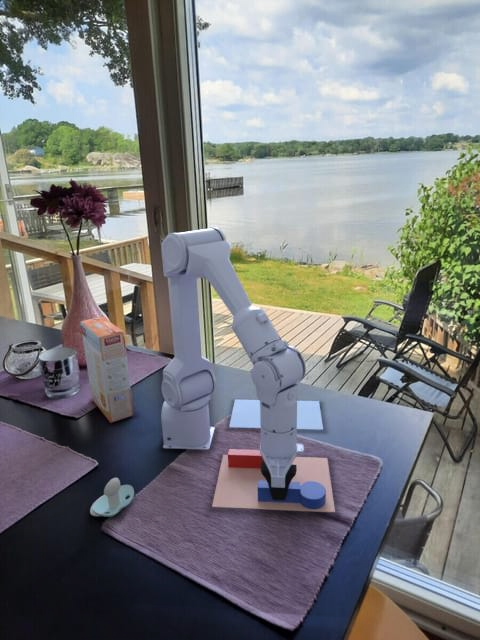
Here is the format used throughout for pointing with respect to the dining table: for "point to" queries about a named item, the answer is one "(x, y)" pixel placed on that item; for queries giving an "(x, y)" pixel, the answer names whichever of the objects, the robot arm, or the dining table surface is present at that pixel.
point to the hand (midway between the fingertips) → (278, 493)
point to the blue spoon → (297, 494)
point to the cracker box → (107, 368)
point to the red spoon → (244, 458)
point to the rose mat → (243, 482)
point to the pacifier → (112, 499)
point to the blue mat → (249, 414)
